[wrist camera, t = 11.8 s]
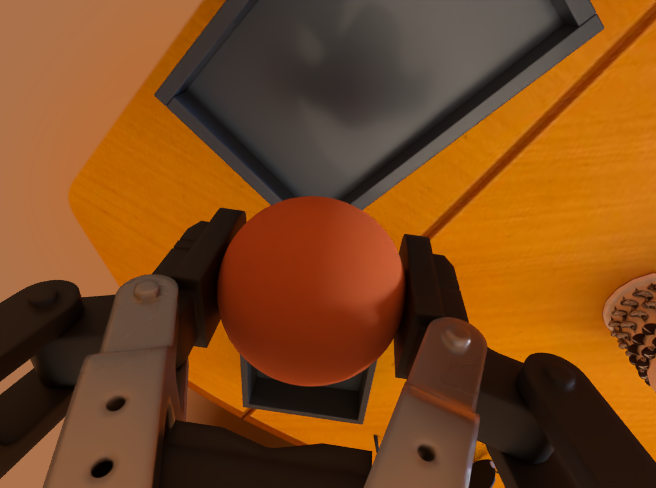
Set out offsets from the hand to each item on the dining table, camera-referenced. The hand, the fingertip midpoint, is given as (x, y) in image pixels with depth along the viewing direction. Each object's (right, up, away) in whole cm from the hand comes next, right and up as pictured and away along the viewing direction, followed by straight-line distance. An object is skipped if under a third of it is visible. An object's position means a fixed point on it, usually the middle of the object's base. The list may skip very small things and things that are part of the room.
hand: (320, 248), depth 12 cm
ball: (0, -1, -2) cm, 2 cm away
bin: (-2, -13, +35) cm, 37 cm away
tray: (+2, +9, +6) cm, 11 cm away
